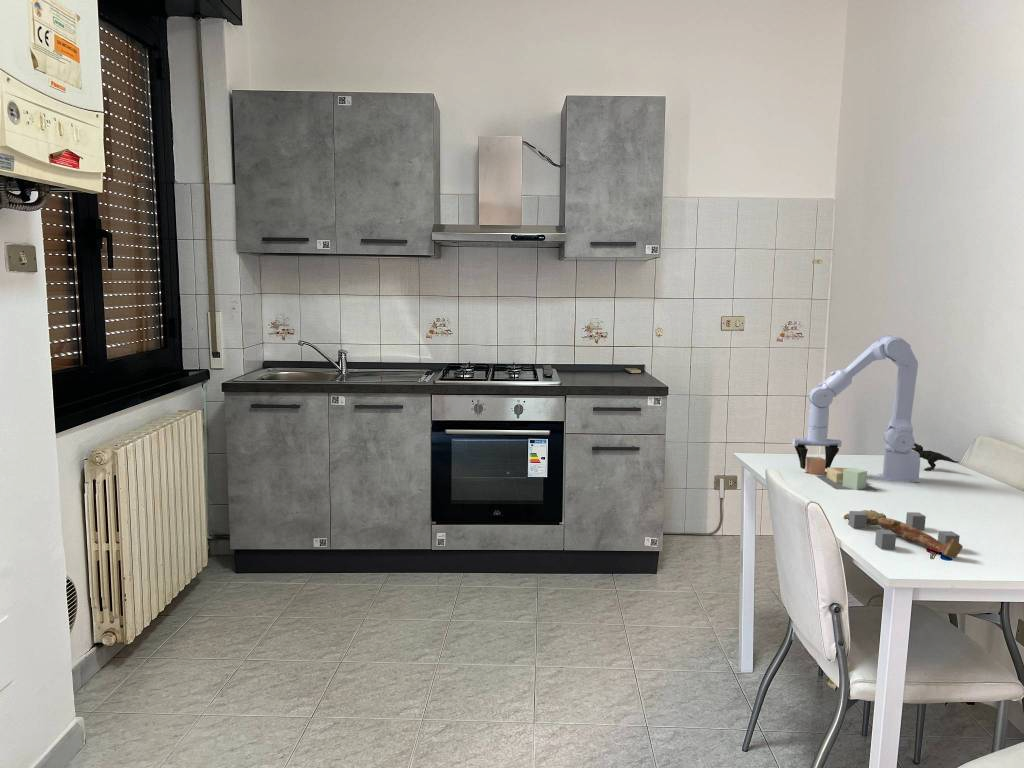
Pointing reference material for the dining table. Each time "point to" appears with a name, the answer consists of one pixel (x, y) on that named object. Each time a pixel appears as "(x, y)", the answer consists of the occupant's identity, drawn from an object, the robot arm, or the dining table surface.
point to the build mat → (839, 485)
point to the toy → (931, 456)
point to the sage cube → (854, 478)
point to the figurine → (911, 533)
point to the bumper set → (887, 537)
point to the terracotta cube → (815, 465)
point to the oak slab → (835, 474)
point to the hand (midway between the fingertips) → (814, 468)
